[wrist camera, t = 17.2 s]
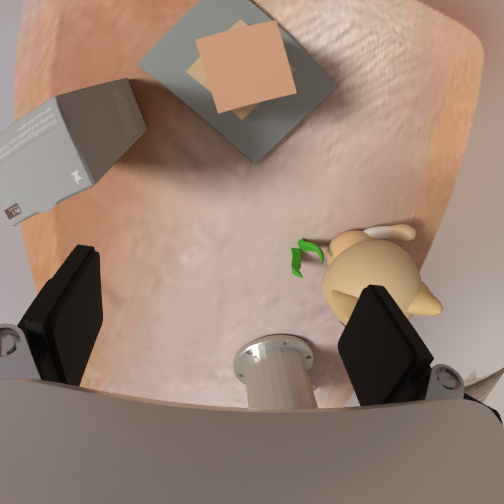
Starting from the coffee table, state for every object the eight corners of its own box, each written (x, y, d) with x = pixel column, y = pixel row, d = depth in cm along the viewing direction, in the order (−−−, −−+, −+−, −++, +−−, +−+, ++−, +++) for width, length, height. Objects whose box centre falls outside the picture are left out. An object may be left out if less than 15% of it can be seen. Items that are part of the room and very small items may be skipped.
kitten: (285, 286, 42) (313, 377, 29) (287, 215, 37) (326, 297, 24) (387, 275, 43) (438, 350, 30) (400, 210, 38) (470, 276, 25)
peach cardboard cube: (264, 31, 24) (276, 20, 18) (281, 90, 27) (296, 93, 21) (199, 48, 24) (195, 39, 19) (218, 107, 27) (218, 113, 22)
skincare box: (129, 76, 27) (58, 78, 13) (152, 137, 30) (101, 186, 17) (61, 111, 27) (-31, 145, 14) (85, 167, 31) (9, 233, 17)
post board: (334, 86, 29) (360, 88, 24) (254, 162, 33) (262, 180, 27) (223, -17, 23) (225, -39, 17) (139, 65, 26) (121, 62, 21)
